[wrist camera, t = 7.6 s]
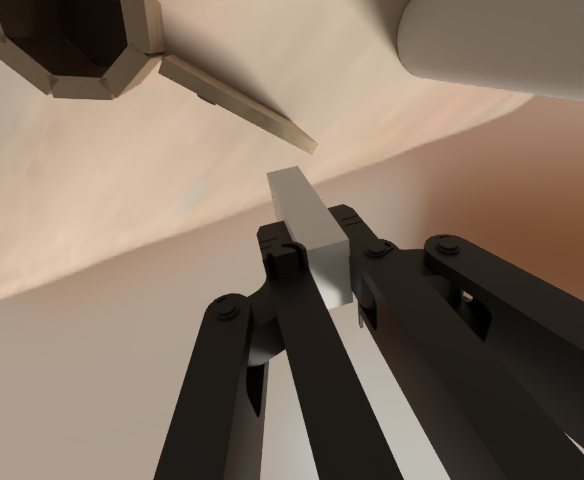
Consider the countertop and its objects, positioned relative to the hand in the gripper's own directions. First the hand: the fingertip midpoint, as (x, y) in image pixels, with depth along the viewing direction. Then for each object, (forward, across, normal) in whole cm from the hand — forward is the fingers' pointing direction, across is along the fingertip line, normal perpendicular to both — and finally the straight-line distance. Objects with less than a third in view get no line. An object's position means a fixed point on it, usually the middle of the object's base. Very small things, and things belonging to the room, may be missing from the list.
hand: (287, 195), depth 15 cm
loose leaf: (+13, -1, +3) cm, 13 cm away
